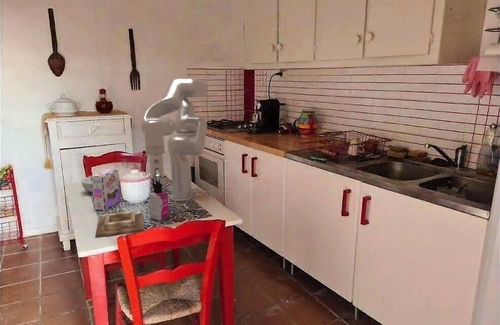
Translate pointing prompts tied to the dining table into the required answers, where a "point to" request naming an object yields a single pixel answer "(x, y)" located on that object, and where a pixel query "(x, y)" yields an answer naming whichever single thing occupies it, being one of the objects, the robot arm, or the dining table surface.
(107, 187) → the candy box
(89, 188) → the cereal bowl
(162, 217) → the supplement box
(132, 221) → the walnut stand
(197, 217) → the dining table surface
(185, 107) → the robot arm
